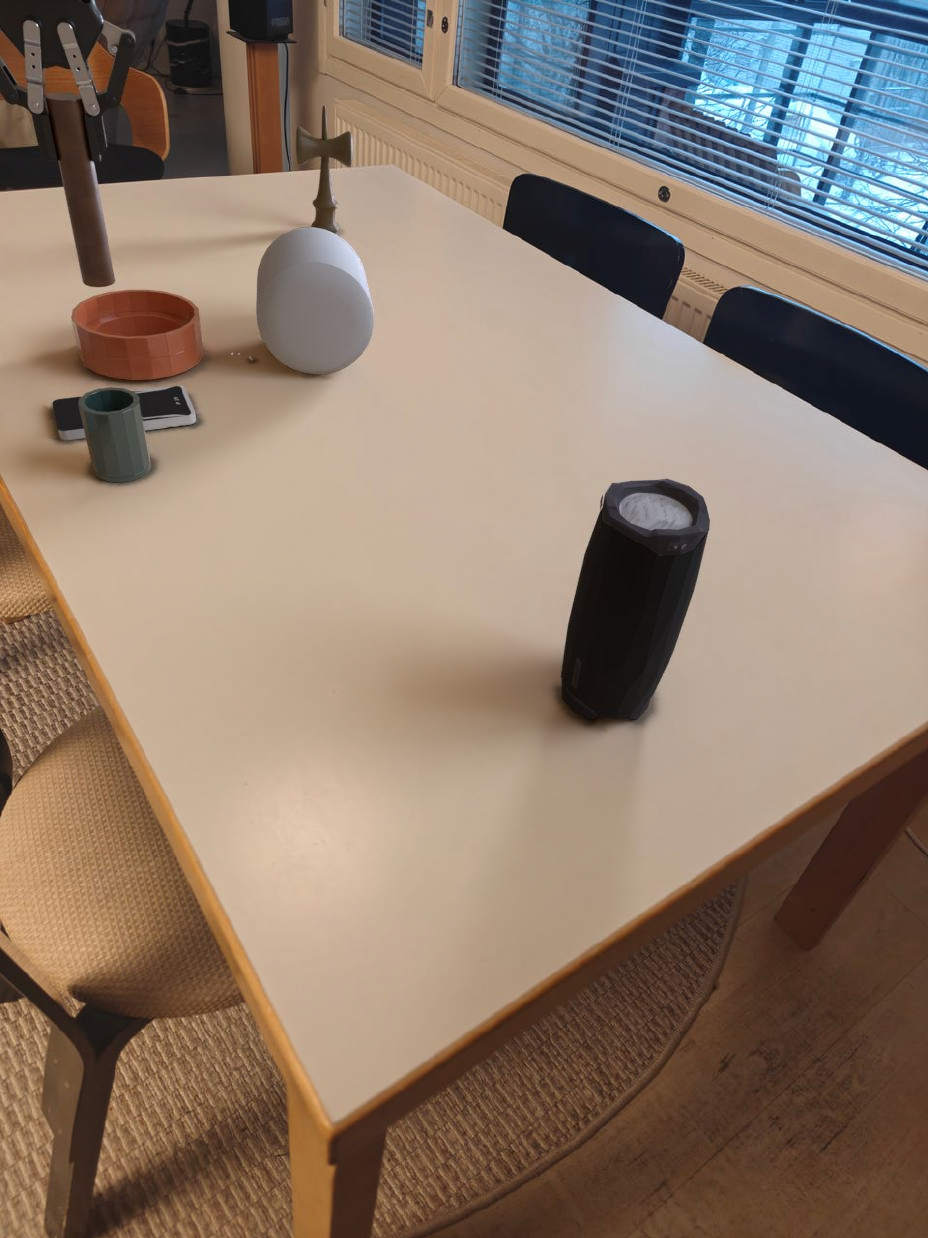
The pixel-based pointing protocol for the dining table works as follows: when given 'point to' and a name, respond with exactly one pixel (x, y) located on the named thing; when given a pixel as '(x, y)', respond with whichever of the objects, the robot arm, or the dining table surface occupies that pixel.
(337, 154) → the kendama
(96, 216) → the stirring stick
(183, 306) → the bowl
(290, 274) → the white oval cylinder
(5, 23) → the robot arm
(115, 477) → the holder
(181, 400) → the smartphone
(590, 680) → the portable speaker
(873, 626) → the dining table surface
